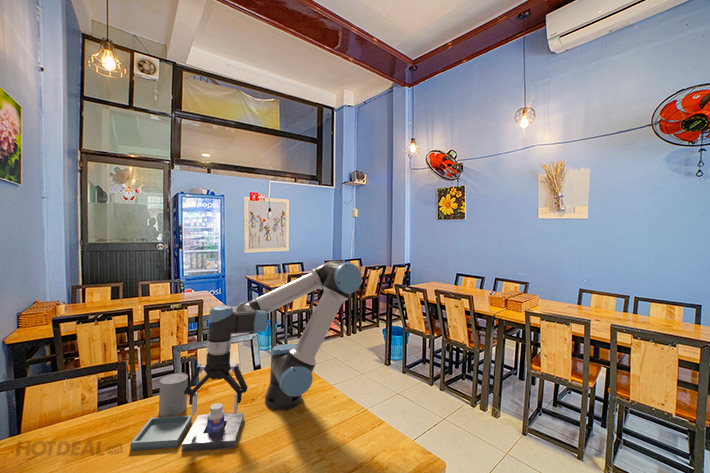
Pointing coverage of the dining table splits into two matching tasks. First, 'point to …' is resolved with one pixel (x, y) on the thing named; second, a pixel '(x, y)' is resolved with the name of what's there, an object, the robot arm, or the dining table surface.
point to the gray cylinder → (173, 394)
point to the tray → (161, 433)
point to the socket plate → (213, 434)
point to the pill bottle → (215, 419)
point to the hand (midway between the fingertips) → (215, 412)
